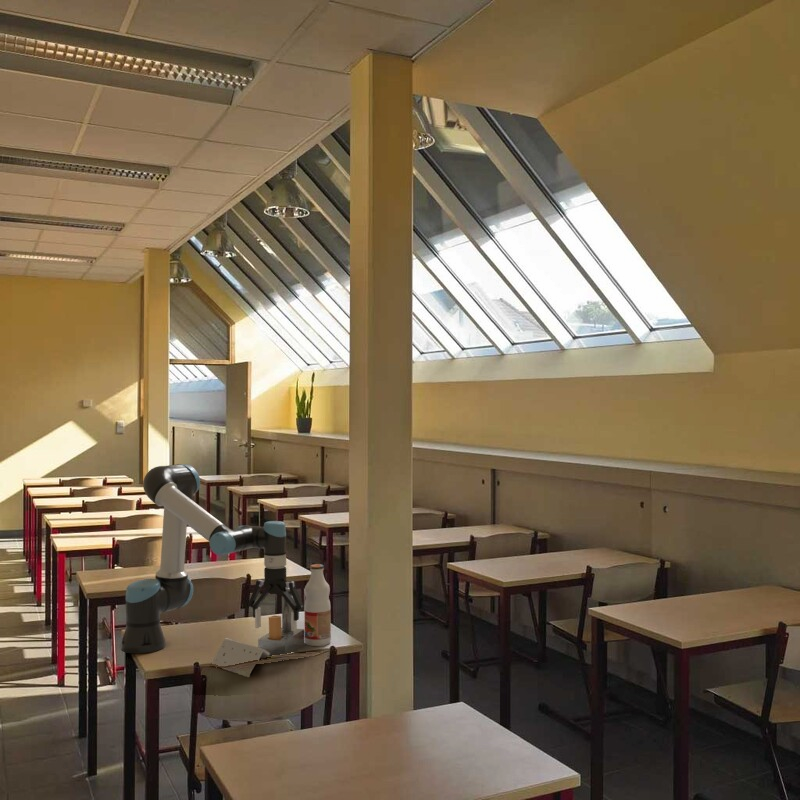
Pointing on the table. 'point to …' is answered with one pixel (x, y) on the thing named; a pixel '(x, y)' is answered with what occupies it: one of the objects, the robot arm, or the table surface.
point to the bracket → (237, 653)
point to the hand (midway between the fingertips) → (275, 628)
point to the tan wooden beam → (275, 627)
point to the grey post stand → (284, 635)
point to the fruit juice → (317, 608)
